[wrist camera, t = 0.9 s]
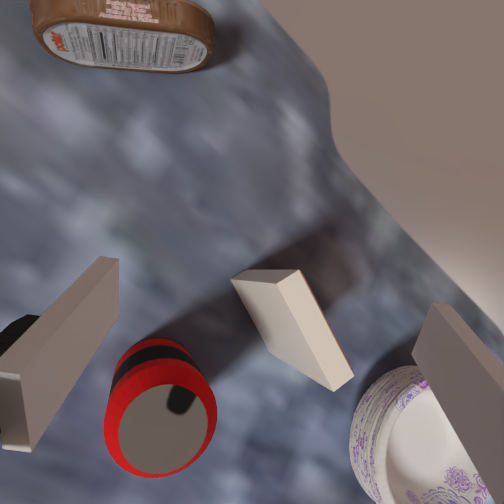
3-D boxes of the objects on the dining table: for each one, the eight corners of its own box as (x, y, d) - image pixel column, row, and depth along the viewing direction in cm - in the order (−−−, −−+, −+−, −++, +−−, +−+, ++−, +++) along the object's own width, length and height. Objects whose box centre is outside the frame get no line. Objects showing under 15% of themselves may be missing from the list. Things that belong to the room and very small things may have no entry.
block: (270, 353, 39) (333, 391, 26) (230, 279, 38) (276, 283, 25) (287, 341, 39) (356, 374, 27) (248, 268, 38) (301, 267, 26)
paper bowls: (406, 332, 44) (461, 345, 37) (460, 433, 46) (524, 465, 38) (309, 412, 40) (349, 445, 32) (373, 520, 42) (426, 576, 34)
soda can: (208, 356, 37) (240, 396, 25) (170, 429, 35) (187, 505, 24) (139, 323, 35) (140, 350, 23) (97, 399, 33) (77, 465, 22)
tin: (205, 53, 38) (223, -5, 30) (207, 83, 38) (226, 33, 30) (43, 37, 34) (14, -36, 26) (45, 71, 33) (17, 9, 25)
